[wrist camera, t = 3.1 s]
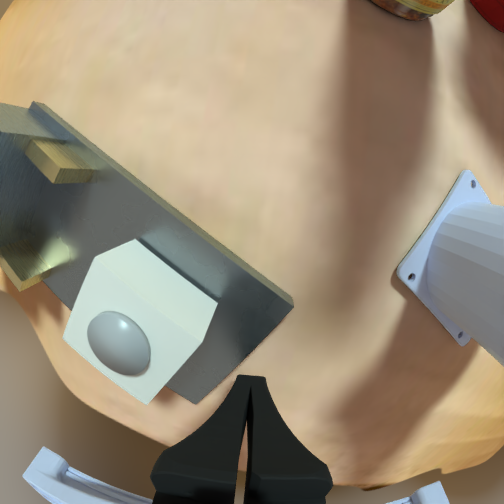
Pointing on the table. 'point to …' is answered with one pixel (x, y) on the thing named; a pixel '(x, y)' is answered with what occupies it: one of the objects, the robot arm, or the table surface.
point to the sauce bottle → (413, 7)
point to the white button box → (137, 319)
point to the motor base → (118, 238)
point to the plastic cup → (491, 12)
